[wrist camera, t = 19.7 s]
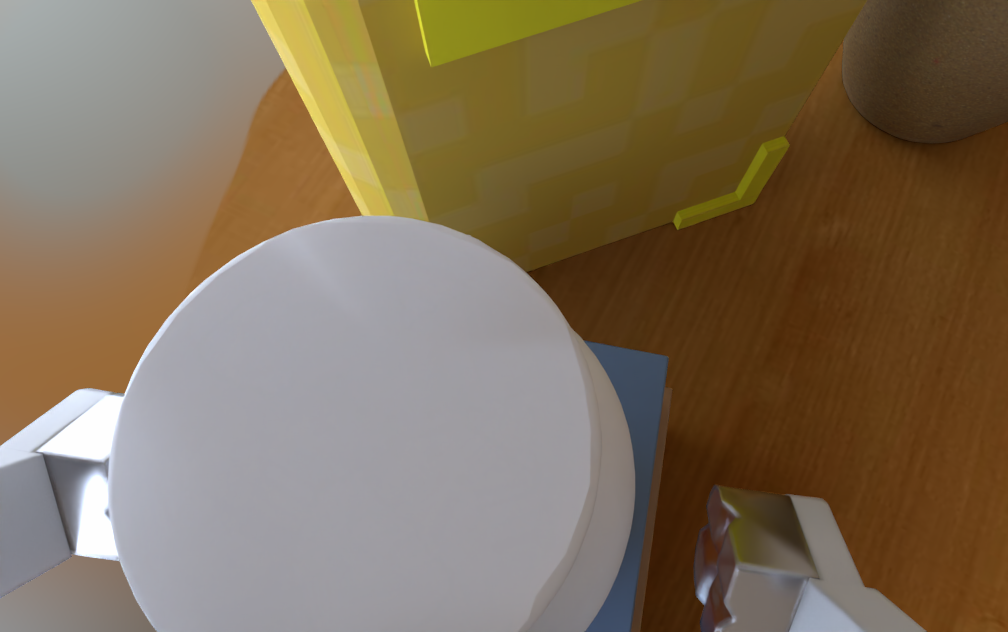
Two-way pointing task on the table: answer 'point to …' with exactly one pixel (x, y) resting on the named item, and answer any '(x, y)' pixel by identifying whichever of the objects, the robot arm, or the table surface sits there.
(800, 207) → the table surface
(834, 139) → the table surface
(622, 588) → the box stack
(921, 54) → the plant pot
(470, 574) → the pill bottle
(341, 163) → the book
